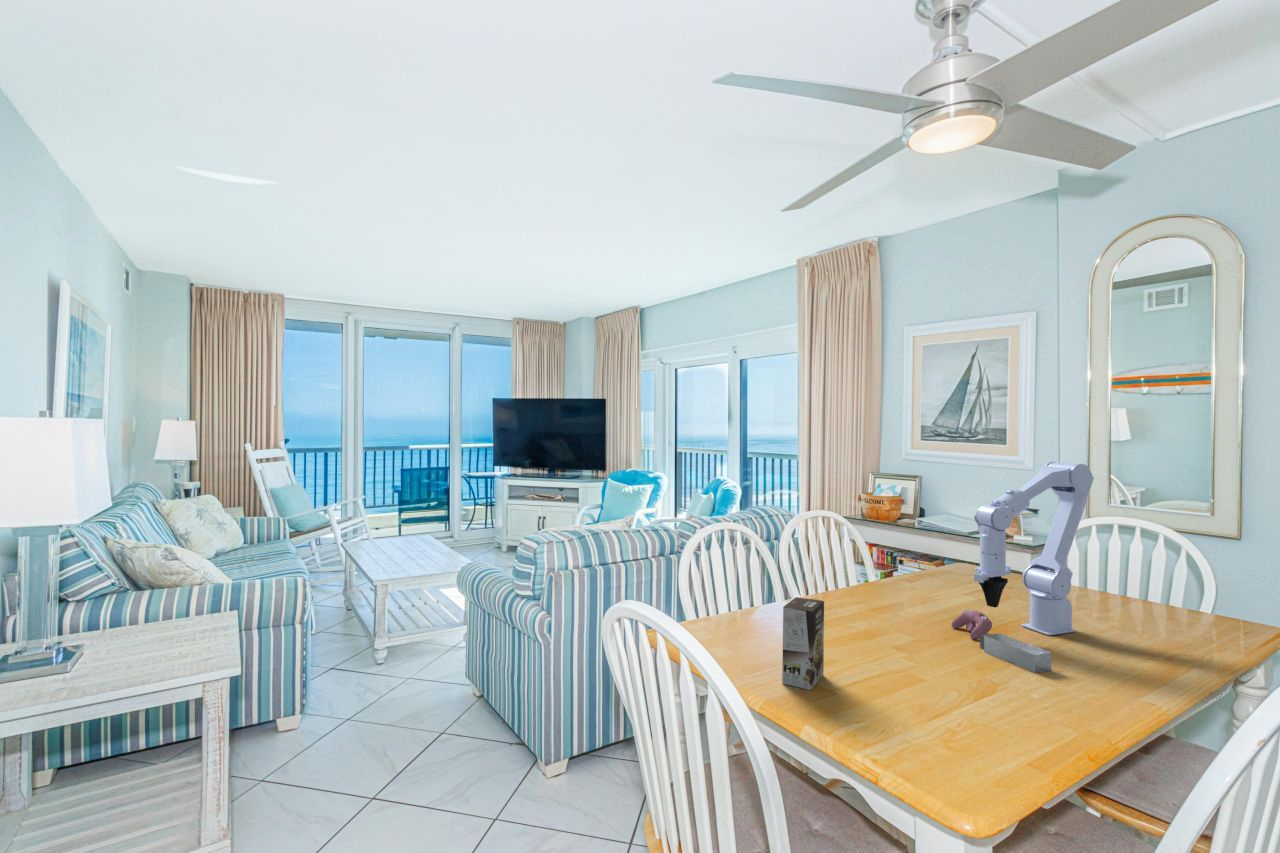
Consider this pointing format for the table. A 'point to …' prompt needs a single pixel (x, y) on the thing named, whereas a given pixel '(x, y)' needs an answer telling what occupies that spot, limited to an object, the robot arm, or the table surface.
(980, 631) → the video game controller
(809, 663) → the coffee box
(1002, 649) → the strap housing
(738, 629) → the table surface
